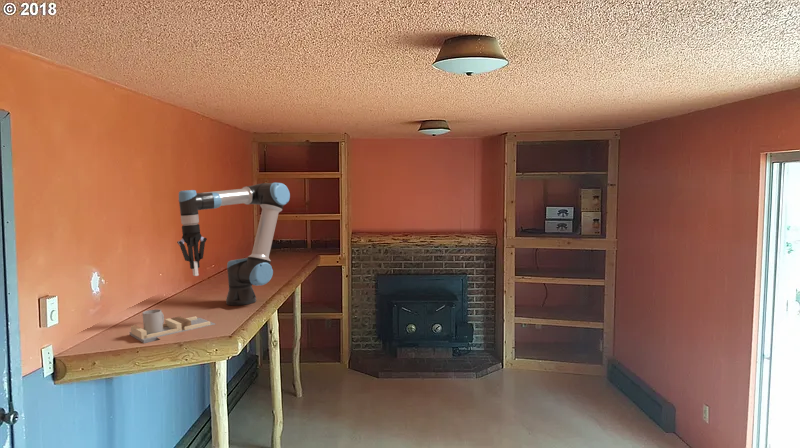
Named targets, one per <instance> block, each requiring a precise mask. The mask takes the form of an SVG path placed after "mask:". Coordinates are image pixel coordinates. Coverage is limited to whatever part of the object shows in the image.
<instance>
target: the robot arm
mask: <svg viewBox="0 0 800 448" xmlns="http://www.w3.org/2000/svg"><path fill="white" fill-rule="evenodd" d="M290 198H291V193H290V190H289V188H288V186H287V185H285V184H284V183H282V182H276V181H275V182H268V183H267V182H263V183H256V184H253V185H248V186H247V185H246V186H242V188H237V189H236V188H235V189H226V190H217V191H208V192H207V191H206V192H205V191H204V192H197V190H195V189H190V190H189V189H186V190H180V191H178V203H179V212H180V213H179V214H180V223H181V225H182V226H181V232H182V237H181V239H180V240H178V241H177V244H178V246H179V247H180V250H181V252H182V255H183V258H184V261H186V262H189V268H190V269H191V270H192V276H194V277H198V276H199V275H200V274H199V268H200V261H201V260H203V259H204V253H205V246H206V242H207V237H204V236H202V234H201V229H200V228H201V227H200V224H199V223H200V220H199V219H200V218H199V211H204V210H214V209H218V208H220V207H221V206H222V207H223V206H232V205H239V204H240V205H241V204H244V205H259V206H260V208H261V213H260V218H259V220H258V221H259V222H258V226H257V230H256V235H255V238H254V244H253V248H252V251H251V254H250V255H248V256H247V257H245V258H244V257H243V258H237V259H231V260H229V261H227V264H226V265H227V266H226V270H227V278H228V292H227V295H226V298H225V301H226V303H225V304H226V305H227V306H245V305H250V304H254V303H256V302H257V296H256V294H255V291H254V288H253V286H256V287H257V286H264V285H267V284H268V283H269V282H270V281H271V279H272V278H273V276H274V275H273V274H274V270H273V268H272V265H271V263H272V260H271V259H270V253H271V249H272V245H273V239H274V235H275V230H276V226H277V221H278V217H279V213H280V212H282V211H283V210H284V209H283V208H284V206H285V205H287V204H289V201H290V200H291V199H290ZM185 244H186V245H185ZM186 247H187V248H186Z"/></svg>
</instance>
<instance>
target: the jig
mask: <svg viewBox="0 0 800 448" xmlns="http://www.w3.org/2000/svg"><path fill="white" fill-rule="evenodd" d="M184 318H185V317H184ZM185 319H188V320H190V321H191V325H190V326H186V327H184V329H183V330H182V325H181V323H180V322H177V321H175V320H173V319H171V318H164V323H163V331H162V332H157V333H153V334H148V335H147V332H146V330H144V327H143V328H142V327H141V326H138V325H136V324H135V325H130V331H129V335H130V336H131V337H132V338H134V339H135V340H137V341H140V342H141V343H142V344H146V343H151V342H155V341H159V340H161V338H160V337H164V336H169V335H174V334H178V333H182V332H188V331H193V330H195V329H200V328H205V327H210V326H213V325H216V323H214V322H212V321H209V320H207V319H204V318H202V317H197V316H196V315H195V316H191V317H186V318H185Z"/></svg>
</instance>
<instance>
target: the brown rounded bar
mask: <svg viewBox="0 0 800 448" xmlns="http://www.w3.org/2000/svg"><path fill="white" fill-rule="evenodd" d="M170 319H173V320H175V321H177V322H180V323H181V325H182V330H183V329H184V327H186V326H190V325H191V321H190V320H188V319H185V317H183V316H176V317H171V318H170Z"/></svg>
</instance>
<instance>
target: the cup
mask: <svg viewBox="0 0 800 448" xmlns="http://www.w3.org/2000/svg"><path fill="white" fill-rule="evenodd" d="M162 311H163V310H162V309H150V310H145V311H142V323H143V328H144V330H146V332H147V335H148V334H153V333H157V332H162V331H163V324H165V316H164V312H162Z"/></svg>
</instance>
